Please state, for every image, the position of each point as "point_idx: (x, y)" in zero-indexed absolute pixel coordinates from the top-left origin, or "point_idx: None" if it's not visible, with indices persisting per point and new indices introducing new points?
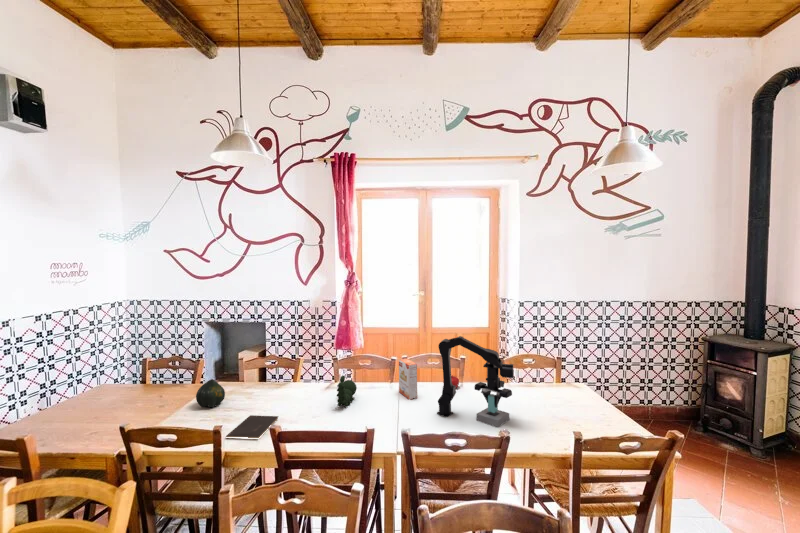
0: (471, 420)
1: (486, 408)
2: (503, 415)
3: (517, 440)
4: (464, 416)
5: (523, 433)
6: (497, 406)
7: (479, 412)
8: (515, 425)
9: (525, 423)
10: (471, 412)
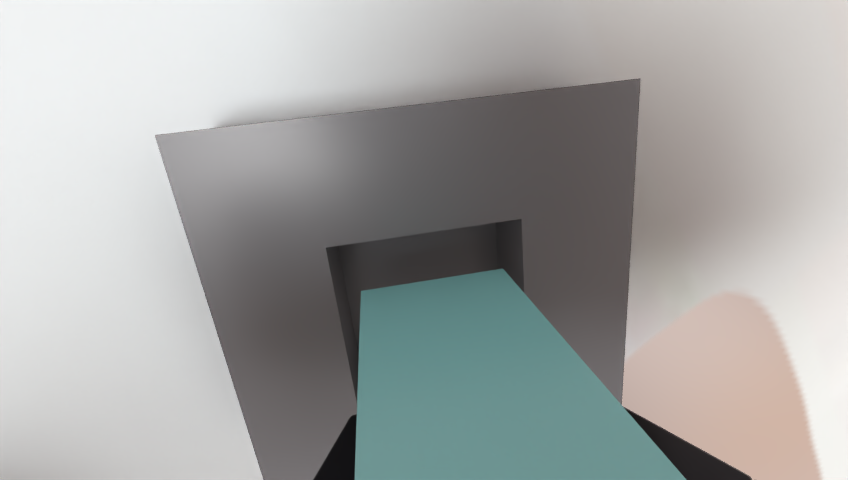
0: (253, 468)
1: (194, 235)
2: (608, 251)
3: (820, 426)
4: (100, 462)
5: (835, 281)
6: (543, 325)
7: (264, 451)
8: (707, 178)
9: (794, 11)
10: (19, 305)
